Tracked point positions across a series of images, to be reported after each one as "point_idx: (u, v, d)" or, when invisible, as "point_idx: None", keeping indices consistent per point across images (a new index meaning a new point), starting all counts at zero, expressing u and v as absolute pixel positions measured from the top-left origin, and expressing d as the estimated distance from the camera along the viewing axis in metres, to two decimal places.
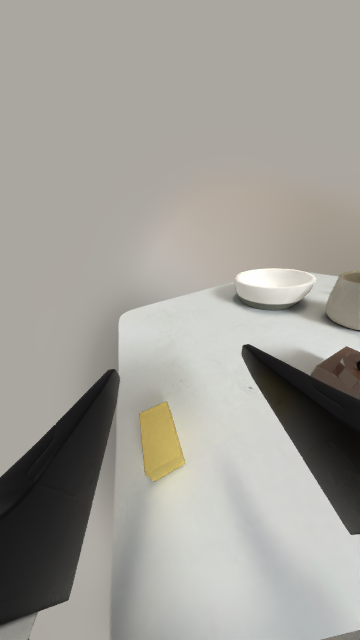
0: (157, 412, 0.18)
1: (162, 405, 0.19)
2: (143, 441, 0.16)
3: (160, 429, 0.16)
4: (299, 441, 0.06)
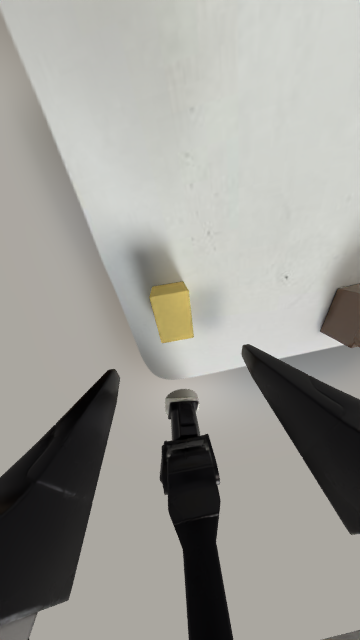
0: (174, 301, 0.14)
1: (181, 294, 0.13)
2: (158, 324, 0.15)
3: (176, 318, 0.15)
4: (299, 441, 0.06)
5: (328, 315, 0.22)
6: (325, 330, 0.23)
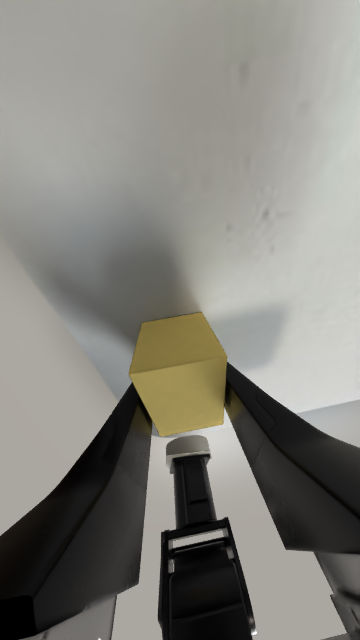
0: (189, 377, 0.06)
1: (210, 364, 0.05)
2: (152, 415, 0.07)
3: (193, 403, 0.07)
4: (247, 452, 0.06)
5: None
6: None
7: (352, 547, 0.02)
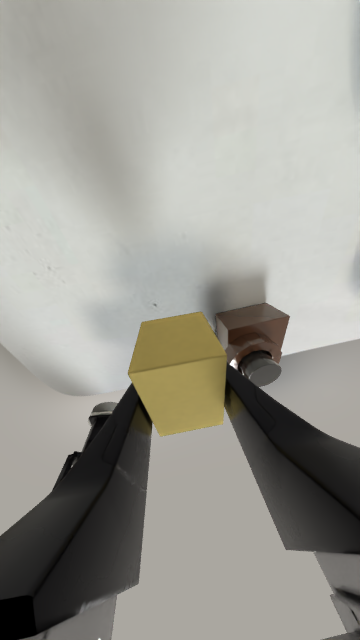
0: (189, 377, 0.06)
1: (209, 364, 0.05)
2: (152, 414, 0.07)
3: (192, 403, 0.07)
4: (247, 452, 0.06)
5: (217, 337, 0.22)
6: None
7: (352, 547, 0.02)
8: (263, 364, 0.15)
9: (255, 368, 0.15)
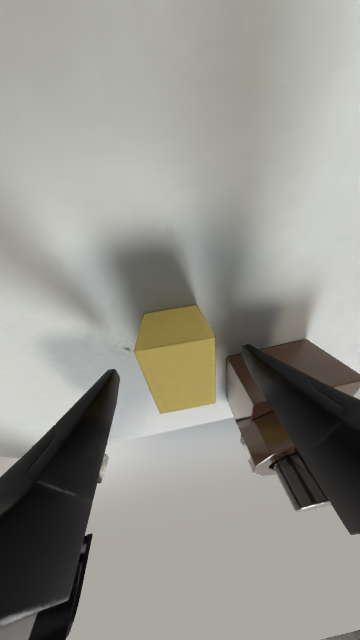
0: (184, 355, 0.07)
1: (201, 344, 0.06)
2: (153, 391, 0.08)
3: (188, 381, 0.08)
4: (299, 441, 0.06)
5: (227, 386, 0.15)
6: (229, 403, 0.16)
7: None
8: None
9: (316, 501, 0.07)
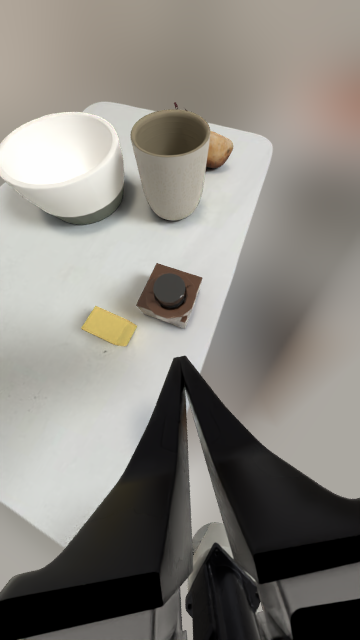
0: (94, 317, 0.20)
1: (94, 310, 0.20)
2: (99, 336, 0.19)
3: (105, 322, 0.20)
4: (206, 460, 0.06)
5: None
6: (180, 326, 0.23)
7: (250, 571, 0.02)
8: None
9: None
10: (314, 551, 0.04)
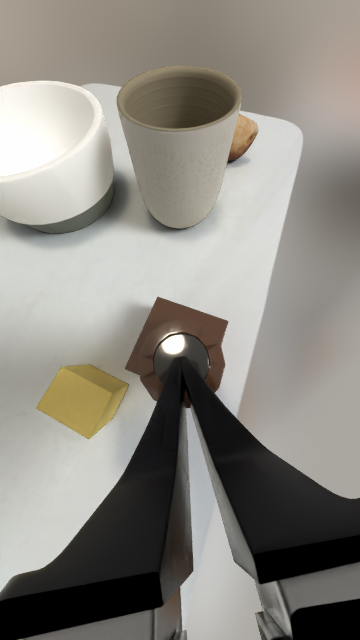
0: (58, 386, 0.13)
1: (59, 375, 0.13)
2: (65, 422, 0.12)
3: (75, 396, 0.12)
4: (206, 460, 0.06)
5: None
6: None
7: (250, 571, 0.02)
8: None
9: None
10: (314, 551, 0.04)
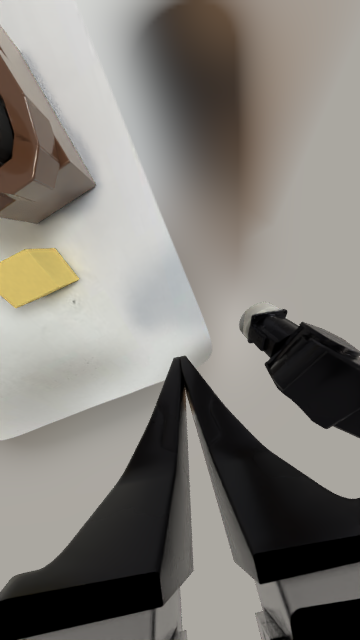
0: None
1: None
2: (37, 295, 0.15)
3: (15, 278, 0.13)
4: (206, 460, 0.06)
5: (68, 202, 0.14)
6: (87, 186, 0.13)
7: (250, 571, 0.02)
8: None
9: None
10: (314, 551, 0.04)
